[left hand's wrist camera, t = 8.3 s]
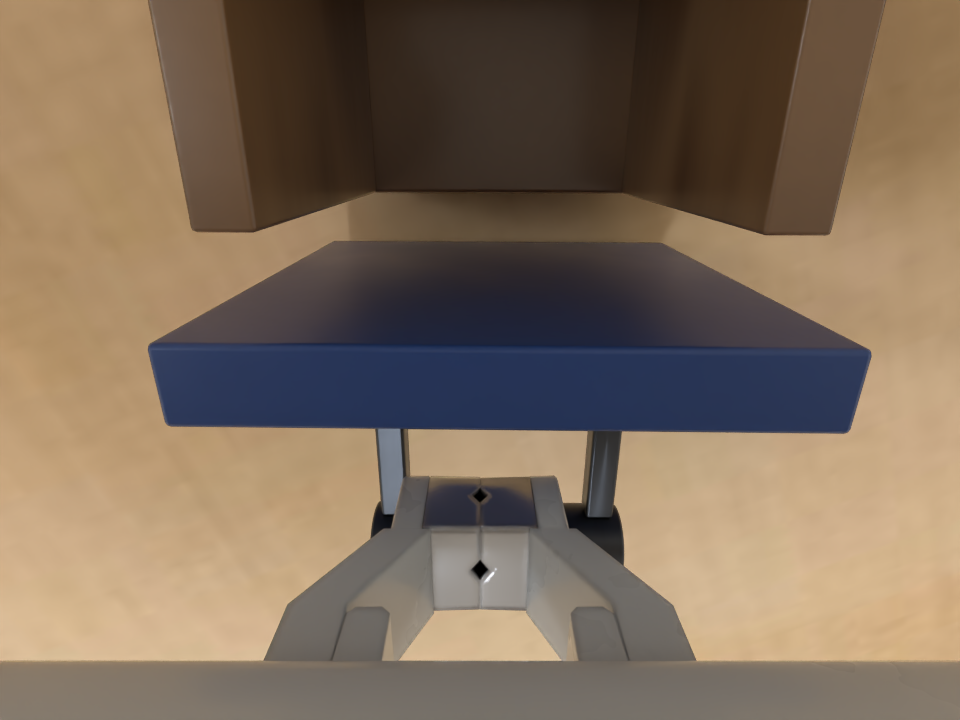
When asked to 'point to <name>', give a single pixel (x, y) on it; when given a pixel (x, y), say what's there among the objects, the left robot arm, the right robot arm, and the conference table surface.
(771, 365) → the drawer
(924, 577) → the conference table surface
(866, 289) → the conference table surface
